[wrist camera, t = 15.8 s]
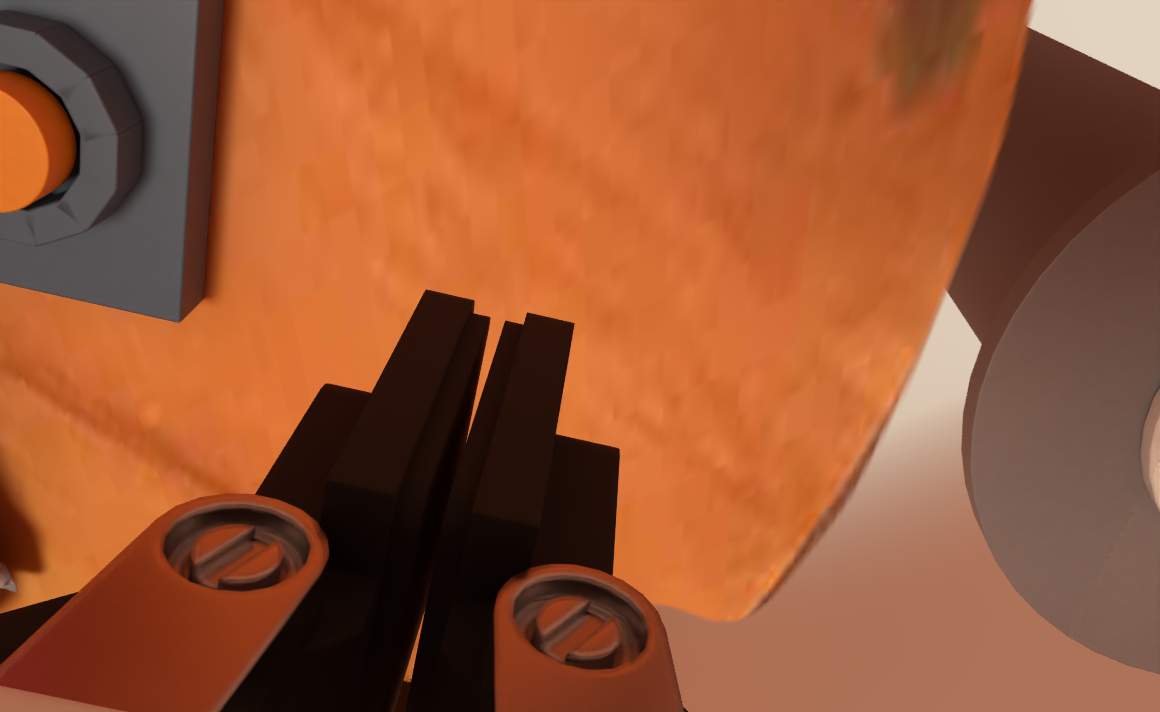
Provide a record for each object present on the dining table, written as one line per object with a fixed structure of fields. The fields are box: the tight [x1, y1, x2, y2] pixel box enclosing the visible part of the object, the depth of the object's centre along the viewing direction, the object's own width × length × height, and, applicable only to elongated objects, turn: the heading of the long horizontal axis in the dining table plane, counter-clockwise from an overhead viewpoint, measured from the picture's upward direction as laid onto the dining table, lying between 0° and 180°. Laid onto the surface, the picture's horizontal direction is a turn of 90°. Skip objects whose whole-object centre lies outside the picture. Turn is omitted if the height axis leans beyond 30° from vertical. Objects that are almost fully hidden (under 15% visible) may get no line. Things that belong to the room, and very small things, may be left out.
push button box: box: [0, 0, 224, 322], centre depth 35 cm, size 10×12×4 cm
